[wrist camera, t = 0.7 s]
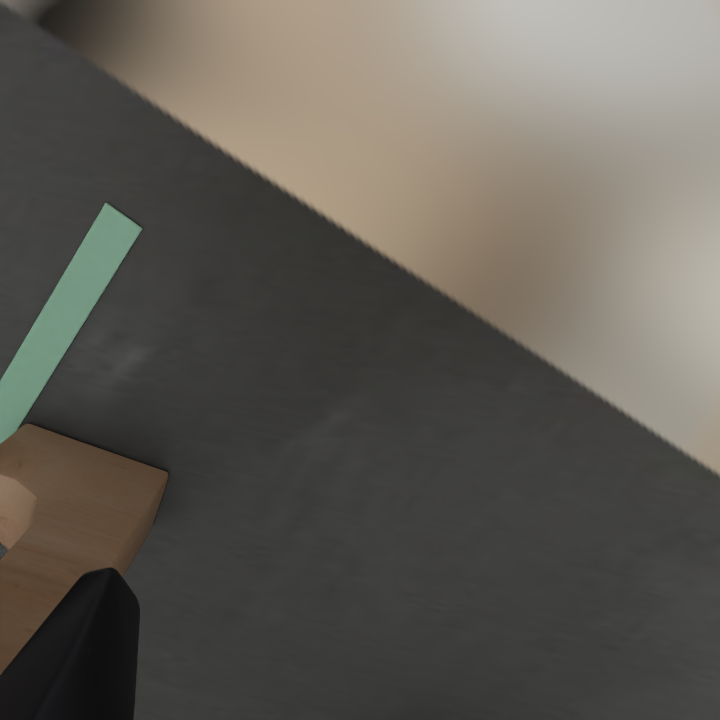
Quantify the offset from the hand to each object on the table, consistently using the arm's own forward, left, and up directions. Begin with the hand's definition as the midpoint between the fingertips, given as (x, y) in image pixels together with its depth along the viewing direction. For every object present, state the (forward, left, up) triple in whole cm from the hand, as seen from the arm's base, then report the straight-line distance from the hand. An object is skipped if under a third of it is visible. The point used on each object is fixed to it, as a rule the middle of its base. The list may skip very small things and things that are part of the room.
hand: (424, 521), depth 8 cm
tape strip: (-15, +10, -16) cm, 24 cm away
